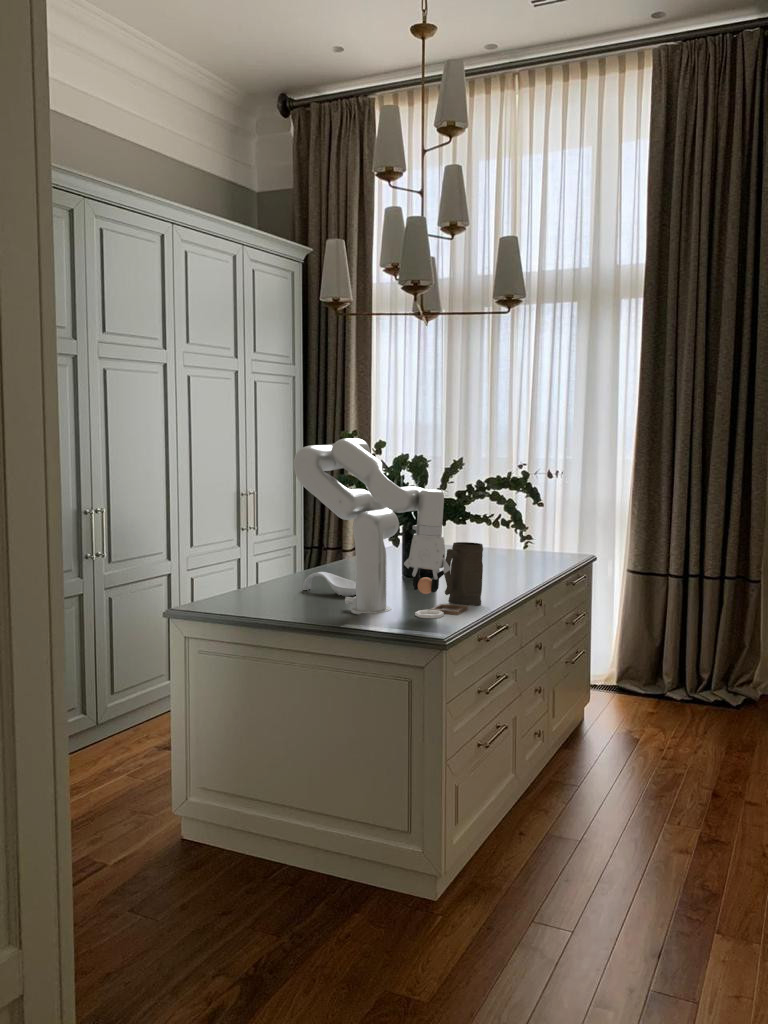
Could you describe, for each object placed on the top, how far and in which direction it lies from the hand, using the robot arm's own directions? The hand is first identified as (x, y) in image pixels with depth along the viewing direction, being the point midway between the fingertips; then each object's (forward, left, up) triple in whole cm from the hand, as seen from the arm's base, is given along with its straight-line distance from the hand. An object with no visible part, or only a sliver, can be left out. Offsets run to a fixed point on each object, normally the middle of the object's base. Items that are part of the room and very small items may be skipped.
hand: (425, 589), depth 276 cm
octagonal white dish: (+1, 0, -9) cm, 9 cm away
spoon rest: (-44, +25, -9) cm, 51 cm away
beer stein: (+3, +24, -9) cm, 26 cm away
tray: (+4, +9, -9) cm, 13 cm away
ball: (0, 0, -1) cm, 1 cm away
